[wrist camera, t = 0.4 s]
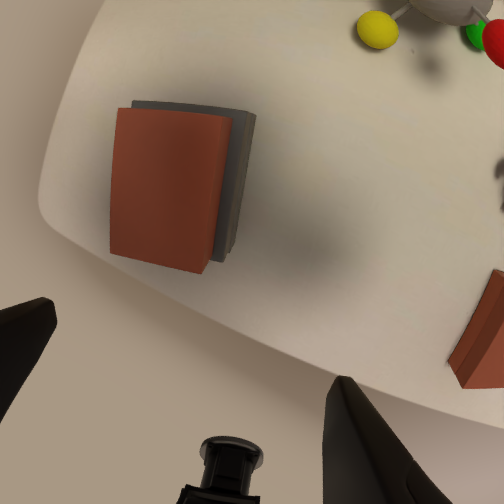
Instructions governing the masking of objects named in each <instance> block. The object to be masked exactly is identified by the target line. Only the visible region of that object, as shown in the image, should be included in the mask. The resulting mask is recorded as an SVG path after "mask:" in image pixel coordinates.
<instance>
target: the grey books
mask: <svg viewBox="0 0 504 504" xmlns="http://www.w3.org/2000/svg"><path fill="white" fill-rule="evenodd" d="M131 108H139V109H156V110H169V111H181V112H191V113H200V114H209V115H217V116H224V117H229V118H233V121H232V127H231V133H230V139H229V145H228V151H227V157H226V163H225V170H224V176H223V183H222V189H221V196H220V203H219V209H218V216H217V224H216V231H215V238H214V245H213V253H212V257H211V259H210V260H213V261H217V262H224V260H225V258H226V255H227V253H230V251H231V249H232V247H233V245H234V243H235V237H236V231H237V225H238V219H239V213H240V207H241V201H242V195H243V189H244V183H245V177H246V171H247V165H248V160H249V154H250V148H251V143H252V137H253V131H254V126H255V120H256V115H255V114H253V113H250V112H248V111H243V110H236V109H229V108H221V107H213V106H204V105H195V104H184V103H172V102H157V101H136V100H133V101H132V106H131Z"/></svg>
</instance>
